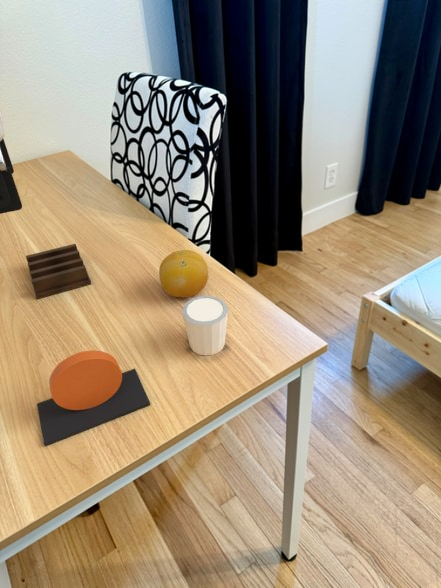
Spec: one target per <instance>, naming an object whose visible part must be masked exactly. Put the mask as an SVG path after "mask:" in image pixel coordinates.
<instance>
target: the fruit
mask: <svg viewBox="0 0 441 588" xmlns="http://www.w3.org/2000/svg"><path fill="white" fill-rule="evenodd" d="M158 276H159V283H160V285H161V288H163V290H164V291H165V292H166V293H168V294H169V295H170V296H173V297H175V298H188V297H193V296H196V295H198V294H199V293H201V291H203V289H204V288H205V287H206V285H207V283H208V279H209V267H208V264H207V262H206V260H205V259H204V257H203V256H202V255H201V254H199V253H198V252H197V251H194V250H189V249H181V250H175V251H173V252H171V253H170V254H167V256H165V257H164V258H163V260H162V261H161V262H160V264H159V268H158Z"/></svg>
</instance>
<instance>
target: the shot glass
mask: <svg viewBox="0 0 441 588" xmlns="http://www.w3.org/2000/svg"><path fill="white" fill-rule="evenodd" d="M182 317H183V321H184V325H185V330H186V335H187V340H188V343H189V347H190V349H191V350H192V351H193V352H194V353H195V354H197V355H201V356H213V355H215V354H217V353H220V352H221V351H222V350H223V349H224V347H225V344H226V336H227V327H228V326H227V325H228V317H229V308H228V304H227V303H226V301H224V300H223V299H222V298H219V297H218V296H215V295H199V296H196V297H193V298H191V299H190V300H189V299H188V301H187V302H185V304H184V305H183V307H182Z"/></svg>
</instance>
